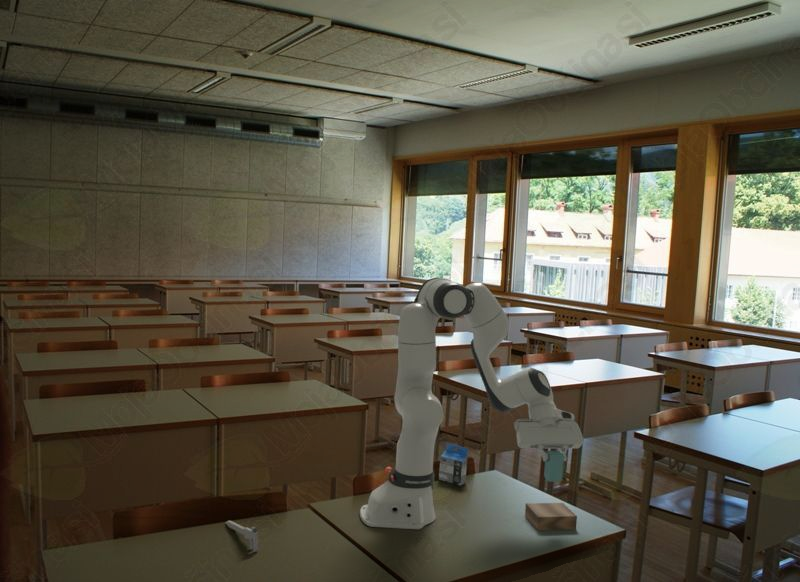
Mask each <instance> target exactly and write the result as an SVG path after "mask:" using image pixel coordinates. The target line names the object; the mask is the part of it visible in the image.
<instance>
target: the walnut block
mask: <svg viewBox="0 0 800 582" xmlns="http://www.w3.org/2000/svg"><path fill="white" fill-rule="evenodd" d="M524 513H525V514H524V517H525V518H526V519H527V521H528V522H529V523H530V522H531V523H530V524H531V525H532V526H533V527H534V528H535V529H536V531H563V530H565V531H566V530H567V531H568V530H569V529H570V530H571V531H572V530H577V521H578V515H576V514H575V513H574V512H573V511H572V510H571V509H570V508H569V507H568V506H567V505H566V504H565V503H563V502H542V503H541V502H535V503H534V502H533V503H532V502H531V503H525V512H524Z"/></svg>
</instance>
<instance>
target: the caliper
mask: <svg viewBox="0 0 800 582" xmlns="http://www.w3.org/2000/svg"><path fill="white" fill-rule="evenodd" d="M225 525H226V526H227V527H228V529H229V528H230V529H232V530H234V531H235V532H237V533H240V534H241V535H243V537H244V539H246V540H248V541H249V547H250V550H251V551H252V552H253V553H256V552H258V551H259V533H258V529H257V527H256V526H252V527H250V528H249V527H245V526H242V525H241V524H238V523H236V522H235V521H233V520H227V521H225Z"/></svg>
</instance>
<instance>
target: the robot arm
mask: <svg viewBox="0 0 800 582" xmlns="http://www.w3.org/2000/svg"><path fill="white" fill-rule="evenodd" d="M413 300H414V301H413V302H412V303H410V304H407V305H405V306H404V307H403V308H402V309H401V310H400V314H399V321H398V331H397V351H398V352H397V353H398V354H397V358H398V361H397V362H398V363H397V364H398V368H397V377H396V383H395V384H396V385H395V392H394V395H393V398H394V406H395V409H396V411H397V412H398V413H399V415H401V418H402V424H401V425H402V427H401V431H400V436H399V439H398V441H397V443H396V458H395V467H394V468H393V469H392V467H391V466H386V468H385V470H384V471H385V474H386V475H387V476H388V477H387V479H388V480H386V481H385V482H383V484H381V485H380V486H378V487H376V488H374V489H373V490H372V491H371V493H370V495H369V498H368V502H367V504H364V505H362V506H361V508H360V510H359V516H360V519H361V521H362V522H363V523H364V524H365V525H366V526H368V527H372V528H373V527H374V528H387V529H389V528H392V529H406V530H408V529H409V530H421V529H422V528H423V527H424V526H426V525H429V524H431V523H433V522H434V521H435V520H436V517H437V516H436V513H435V508H434V507H435V506H434V501H433V500H434V497H433V489H434V485H435V470H434V456H435V455H434V454H435V445H436V439H437V435H438V434H439V433H438V432H439V427H440V426H441V424H442V422H443V420H444V417H445V415H444V410H443V409H444V408H443V406H442V403H441V401H440V400H439V398H438V397H437V396H436V395H435V394H433V392H432V391H433V390H432V384H433V377H434V373H435V371H436V368H437V347H436V346H437V343H436V342H437V341H436V339H437V338H436V327H437V324H438V322H439V319H441V318H444V319H451V320H453V319H454V320H455V319H458V318H460V317H464V318H465V319H466V322H467V323H468V325H469V327H470V329H471V331H472V335H473V338H472V340H471V341H470V349H471V354H472V357H473V360H474V362H475V365H476V368H477V370H478V373H479V375H480V376H479V377H481V381H482V383H483V386H484V388H485V392H486V395H487V399H488V402H489V404H490V406H491V408H492V409H493V410H495V411H497V412H500V413H503V414H506V413H508V412H510V411H512V410H514V409H516V408H518V407H520V406H523V405H527V407H528V408H527V409H528V417H529V418H518V419H517V420H515V421H514V422H513V427H514V430H515V431H516V443H517V447H519V449H521V450H523V449H530V450H531V449H536V451H537V453H538V454H539V455H540V457H541V458H542V461H543V462H545V461H549V460H550V458H549V454H546V451H545V450H544V449H547V450H548V449H560V452H561V453H562V454H563V455H564V462H566V461H567V458H568V457H567V453H568V449H579V448H581V447H582V445H583V443H584V436H583V434H582V431H581V428H580V427H579V424H578V423H577V422H576V421H575V414H573V413H572V412H568V411H565V410H562V409H559V408H557V406H556V404H555V402H554V394H553V390H552V387H551V384H550V382H549V381H550V380H549V379H548V377H547V376H546V374H545V373H544V372H543V371H542V370H539V369H536V368H532V367H528V368H526V369H523V370H521V371H518V372H516V373H514V374H511V375H509V376H506V377H504V378H498V377H497V375H496V372H495V370H494V367H493V363H492V362H491V358H490V355H491V354H492V352H493V351H494V350H495V349H496V348H497V347H499V345H500V344H501V343H502V342H503V341H504V339H505V338H506V337H507V334H508V332H509V328H510V322H509V318H508V317H507V314H506V312H505V311H504V309H503V307H502V305H501V304H500V302H499V301H498V300H497V298H496V297H495V295H494V294H493V293H492V292H491V290H490V289H489V288H488V287H487V286H486V285H485V284H484V283H481V282H472V283H470V284H467V285H466V286H464V285H463V284H461V283H459V282H456V281H452V280H450V279H448V278H440V277H433V278H430V279H429V278H428V279H427V280H425V281H424V282H423V283H422V284H421V286H420V287H419V289H418V292H417V294H416V296H415V298H414V299H413Z"/></svg>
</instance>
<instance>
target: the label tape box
mask: <svg viewBox="0 0 800 582" xmlns="http://www.w3.org/2000/svg"><path fill="white" fill-rule="evenodd" d="M456 449H457V450H456ZM443 460H446V461H443ZM467 462H468V448H466V447H463V446H459V445H455V444H451V443H448V442H447V443H445V450H444V452H443V453H442V454H441V455H440V460H439V469H438V470H439V472H438V480H439V481H443V482H446V481H447V483H450V484H453V485H457V486H464V485H465V484H466V483H467V482H466V481H467V467H468V465H467V464H468V463H467Z"/></svg>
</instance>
